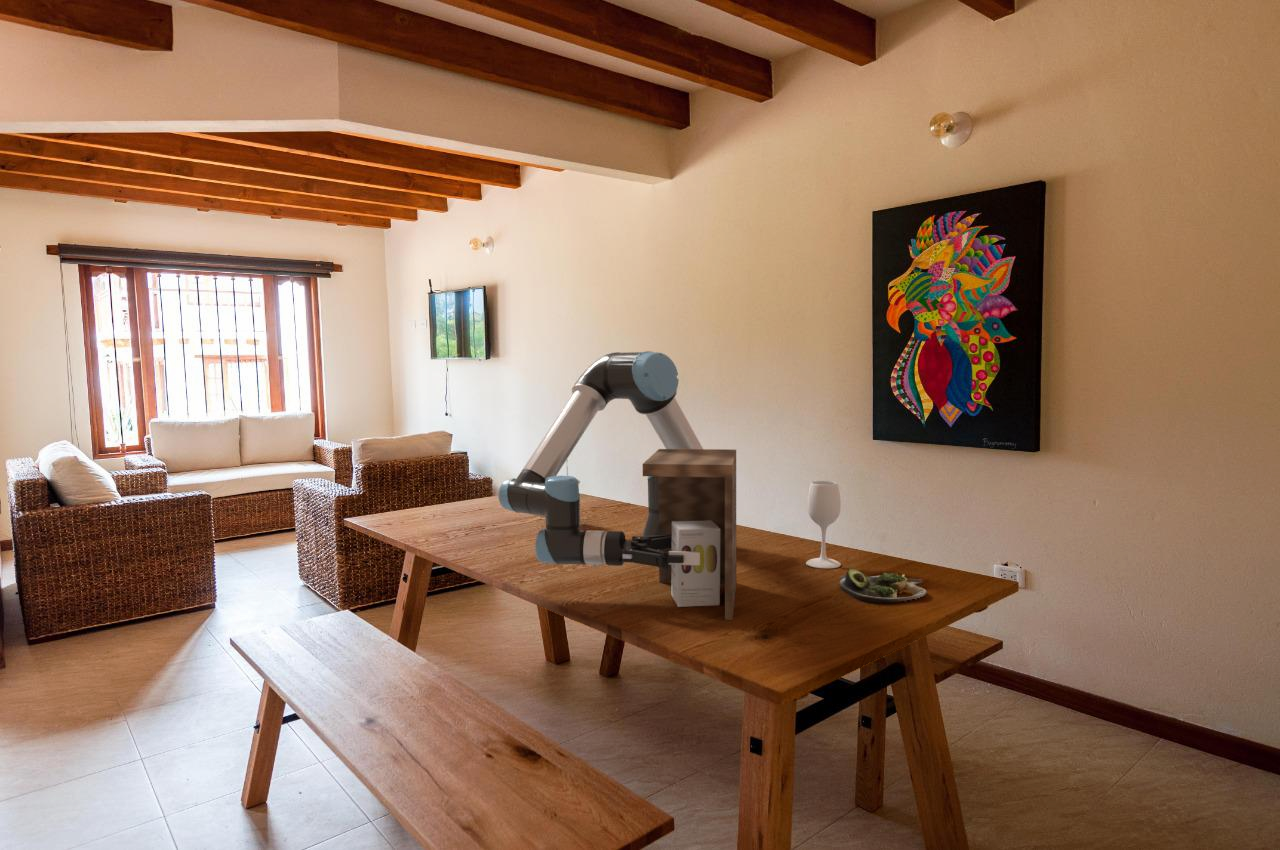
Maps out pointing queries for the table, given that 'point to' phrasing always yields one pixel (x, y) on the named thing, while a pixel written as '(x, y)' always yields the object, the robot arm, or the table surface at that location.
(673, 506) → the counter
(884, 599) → the salad plate
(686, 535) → the supplement box
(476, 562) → the table surface
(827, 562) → the wineglass
